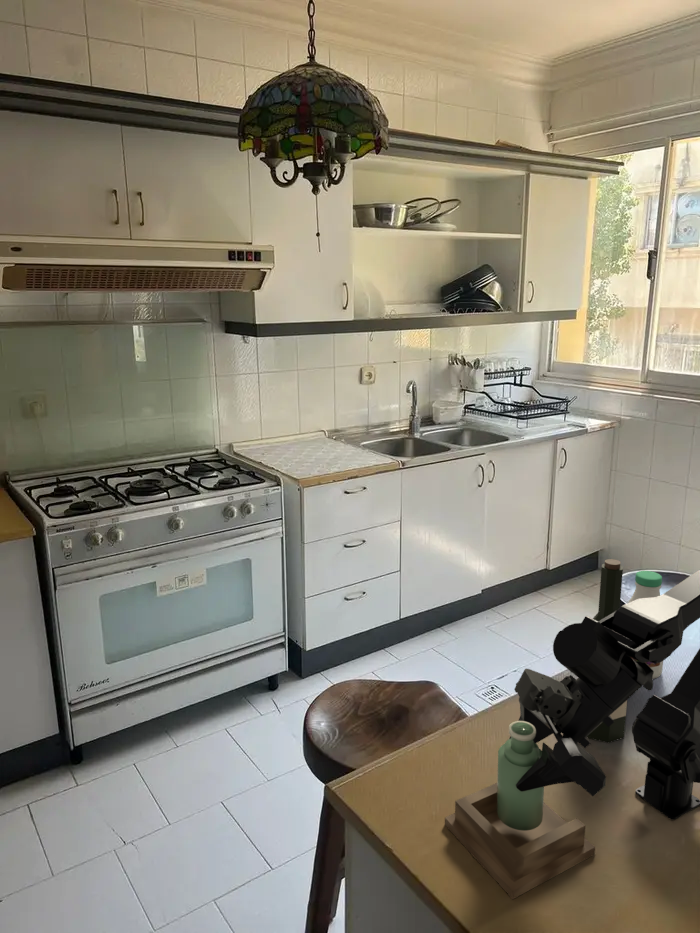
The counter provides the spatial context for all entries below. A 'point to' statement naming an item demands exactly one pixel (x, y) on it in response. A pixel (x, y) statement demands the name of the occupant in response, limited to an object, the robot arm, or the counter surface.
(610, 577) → the wine bottle
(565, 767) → the robot arm
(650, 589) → the milk bottle
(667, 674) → the counter surface
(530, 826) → the green bottle
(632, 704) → the counter surface
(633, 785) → the counter surface
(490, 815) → the bottle rest
